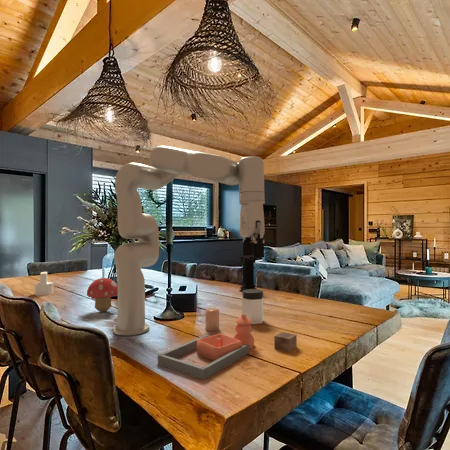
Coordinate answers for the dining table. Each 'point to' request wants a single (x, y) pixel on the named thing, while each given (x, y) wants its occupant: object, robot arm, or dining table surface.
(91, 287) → the decorative mushroom
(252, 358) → the dining table surface
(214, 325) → the beige rounded cylinder
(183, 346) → the corral
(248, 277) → the chess piece
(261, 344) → the dining table surface
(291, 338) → the metal block
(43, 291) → the white stepped block
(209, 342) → the pottery
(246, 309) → the jar
